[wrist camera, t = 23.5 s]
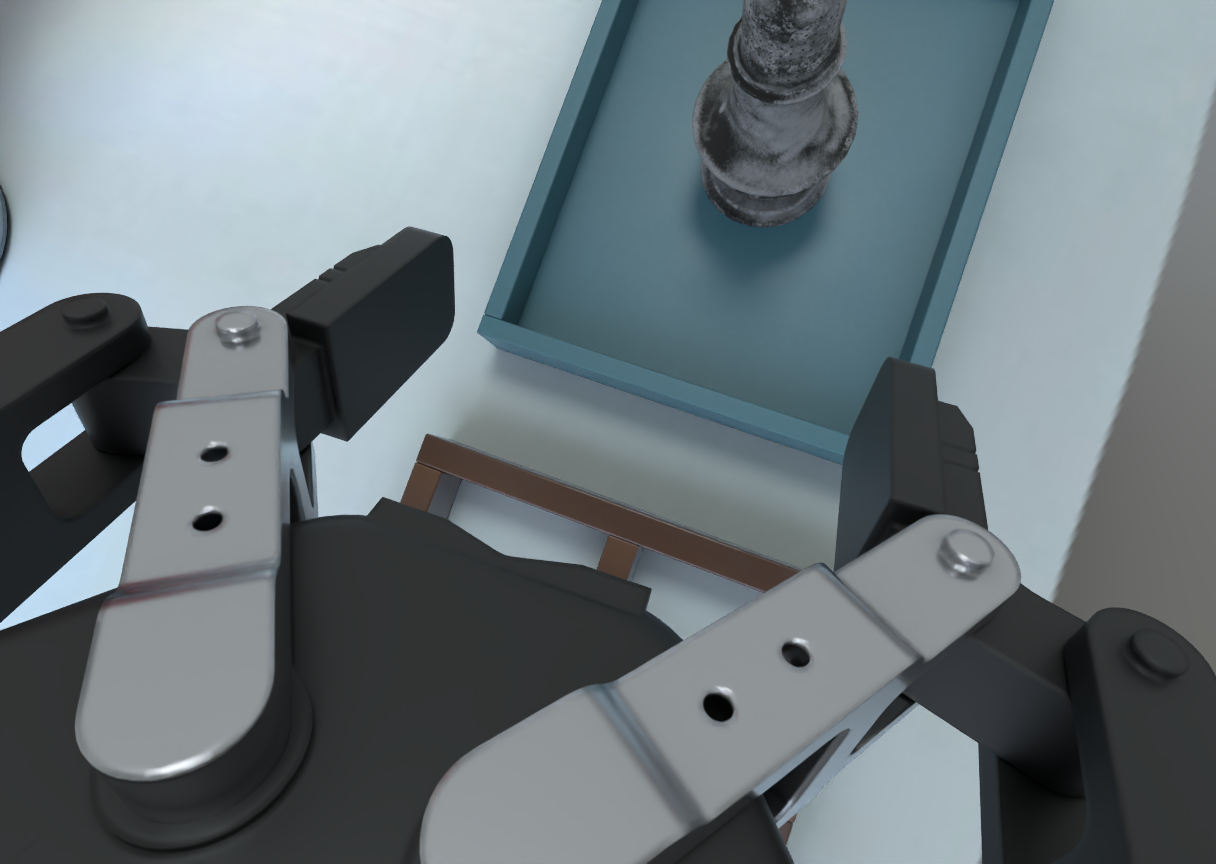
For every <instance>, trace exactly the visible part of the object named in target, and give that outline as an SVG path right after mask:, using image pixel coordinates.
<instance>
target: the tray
mask: <svg viewBox="0 0 1216 864" xmlns="http://www.w3.org/2000/svg"><path fill="white" fill-rule="evenodd" d="M1053 2H1054V0H847V4H846V7H845V11H844V15H843V18H842V24H843V26H844V28H845V33H846V40H847V46H846V53H845V59H844V61H843V63H842V66H841V68H840V69H841V70H842V71H843V72H844V73H845V74H846V75H847V77H848V79H849V81H850V83H851V85H852V87H853V89H854V92H855V94H856V100H857V106H858V113H859V115H858V122H857V130H856V135H855V137H854V140H853V142H852V144H851V147H850V149H849V151H848V153H847V155H846V157H845V158H844V159H843V160H842V162H841V163H840V164H839V165H838V167H837V168H836V169H835V170H834V172H832V173H831V176H830V180H829V182H828V184H827V187H826V189H825V191H824V194H823V195H822V197H821V198H820V199H819V200H818V202H817V203H816V204H815V205H814V207H813V208H812V209H810V210H809V211H808V212H806V213H805V214H804V215H802V216H801V217H800V218H798V219H796V220H794V221H791V222H789V223H786V224H784V225H780V226H774V227H767V228H762V227H752V226H746V225H743V224H741V223H738V222H735V221H732V220H731V219H730V218H728V217H727V216H725V215H724V214H722V213H721V212H720V211H718V209H717V208H716V207H715V206H714V204H713V203H712V202H711V201H710V200H709V198H708V196H707V193H706V191H705V189H704V186H703V183H702V175H701V162H702V159H701V157H700V155H699V152H698V150H697V148H696V146H695V143H694V136H693V128H692V118H693V112H694V105H695V101H696V99H697V97H698V94H699V92H700V90H701V88H702V86H703V83H704V82H705V81H706V80H707V78H708V77H709V76H710V75H711V74H712V72H713V71H714V70H715V69H716V67H718V66H719V65H720V64H722V63H723V62H724V61H725V60H727V59H728V58H727V49H728V43H729V37H730V35H731V33H732V30H733V28H734V26H735V24H736V23H737V21H738V20H739V19H740V18H741V16H742V13H743V0H602V2H601V5H600V8H599V10H598V13H597V16H596V18H595V21H594V24H593V26H592V29H591V32H590V34H589V37H588V39H587V42H586V45H585V47H584V50H583V53H582V55H581V58H580V61H579V63H578V66H577V69H576V71H575V74H574V77H573V79H572V82H571V85H570V87H569V90H568V92H567V95H566V98H565V100H564V103H563V106H562V108H561V111H560V114H559V116H558V119H557V122H556V124H555V127H554V130H553V132H552V135H551V137H550V140H549V143H548V145H547V148H546V151H545V153H544V156H543V159H542V161H541V164H540V167H539V169H538V172H537V175H536V177H535V180H534V183H533V185H532V188H531V190H530V193H529V196H528V198H527V201H526V204H525V206H524V209H523V212H522V214H521V217H520V220H519V222H518V225H517V228H516V230H515V233H514V236H513V238H512V241H511V243H510V246H509V249H508V251H507V254H506V257H505V259H504V262H503V265H502V267H501V270H500V273H499V275H498V278H497V281H496V283H495V286H494V289H493V291H492V294H491V296H490V299H489V302H488V304H487V307H486V310H485V315H483V317H482V320H481V323H480V325H479V328H478V331H477V333H478V334H480V335H481V336H482V337H484V338H485V339H486V340H487V341H489V342H490V343H491V344H493V345H494V346H495V347H496V348H499V349H502V350H505V351H508V352H511V353H513V354H516V355H519V356H522V357H525V358H528V359H531V360H534V361H537V362H540V363H543V364H546V365H549V366H552V367H555V368H558V369H561V370H564V371H567V372H570V373H573V374H576V375H579V376H581V377H584V378H587V379H590V380H593V381H596V382H599V383H602V384H605V385H608V386H611V387H614V388H617V389H620V390H623V391H626V392H629V393H632V394H635V395H638V396H641V397H644V398H646V399H649V400H652V401H655V402H658V403H661V404H664V405H667V406H670V407H673V408H676V409H679V410H682V411H685V412H688V413H691V414H694V415H697V416H700V417H703V418H706V419H709V420H711V421H714V422H717V423H720V424H723V425H726V426H729V427H732V428H735V429H738V430H741V431H744V432H747V433H750V434H753V435H756V436H759V437H762V438H765V439H768V440H771V441H774V442H776V443H779V444H782V445H785V446H788V447H791V448H794V449H797V450H800V451H803V452H806V453H809V454H812V455H815V456H818V457H821V458H824V459H827V460H830V461H833V462H836V463H839V464H841V465H843V458H844V453H845V449H846V445H847V442H848V439H849V436H850V433H851V431H852V428H853V426H854V424H855V422H856V419H857V417H858V415H859V413H860V411H861V409H862V407H863V405H864V402H865V400H866V398H867V396H868V394H869V392H870V390H871V387H872V385H873V383H874V381H875V379H876V377H877V375H878V373H879V370H880V368H881V366H882V365H883V363H884V361H885V360H886V359H887V358H888V357H892V358H896V359H900V360H903V361H907V362H911V363H915V364H918V365H922V366H926V367H929V368H931V367H932V364H933V361H934V358H935V355H936V352H937V349H938V346H939V343H940V340H941V337H942V334H943V331H944V328H945V325H946V322H947V319H948V316H949V313H950V310H951V307H952V304H953V301H954V298H955V295H956V292H957V289H958V286H959V283H960V280H961V277H962V274H963V271H964V268H965V265H966V263H967V260H968V257H969V254H970V251H971V248H972V245H973V242H974V239H975V236H976V233H977V230H978V227H979V224H980V221H981V218H982V215H983V212H984V209H985V206H986V203H987V200H988V197H989V194H990V191H991V188H992V185H993V182H994V179H995V176H996V173H997V170H998V167H999V164H1000V161H1001V158H1002V155H1003V152H1004V149H1005V146H1006V143H1007V140H1008V137H1009V134H1010V131H1011V128H1012V125H1013V122H1014V119H1015V116H1016V113H1017V110H1018V107H1019V104H1020V101H1021V98H1022V95H1023V92H1024V89H1025V86H1026V83H1027V80H1028V77H1029V74H1030V71H1031V68H1032V65H1033V62H1034V59H1035V56H1036V53H1037V50H1038V47H1039V44H1040V41H1041V38H1042V35H1043V32H1044V29H1045V26H1046V23H1047V20H1048V17H1049V14H1050V11H1051V8H1052V5H1053Z"/></svg>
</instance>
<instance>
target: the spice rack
mask: <svg viewBox="0 0 1216 864" xmlns="http://www.w3.org/2000/svg"><path fill="white" fill-rule="evenodd" d="M416 461H417V462H416V463H415V465H414V468H413V470H412V473H411V475H410V478H409V481H408V483H407V486H406V489H405V491H404V494H403V497H402V499H401V502H400V503H402V504H405V505H408V506H411V507H413V508H416V509H419V510H422V511H425V512H428V513H431V514H434V515H437V516H440V517H443V518H446V519H447V517H448V514H449V512H450V509H451V506H452V504H453V501H454V498H455V496H456V493H457V490H458V488H459V485H460V482H461V480H462V479H463V480H466V481H469V482H471V483H474V484H477V485H479V486H482V487H484V488H487V489H490V490H492V491H495V492H498V493H500V494H503V495H506V496H508V497H511V498H514V499H516V500H519V501H522V502H524V503H527V504H530V505H532V506H535V507H537V508H540V509H543V510H545V511H548V512H551V513H553V514H556V515H559V516H561V517H564V518H567V519H569V520H572V521H575V522H577V523H580V524H583V525H585V526H588V527H590V528H593V529H596V530H598V531H601V532H604V533H606V534H609V536H608V539H607V542H606V545H605V548H604V550H603V553H602V556H601V559H600V562H599V564H598V567H597V570H598V571H601V572H604V573H607V574H610V575H613V576H616V577H619V578H622V579H625V580H628V581H631V580H632V578H633V575H634V572H635V569H636V566H637V564H638V561H639V558H640V555H641V552H642V549H643V548H646V549H649V550H651V551H654V552H657V553H659V554H662V555H665V556H667V557H670V558H673V559H675V560H678V561H681V562H683V563H686V564H688V565H691V566H694V567H696V568H699V569H702V570H704V571H707V572H710V573H712V574H715V575H718V576H720V577H723V578H726V579H728V580H731V581H734V582H736V583H739V584H741V585H744V586H747V587H749V588H752V589H755V590H757V591H760V592H763V593H765V592H766V591H768V590H770V589H772V588H773V587H775V586H777V585H778V584H780V583H782V582H783V581H785V580H787V579H788V578H790V577H792V576H794V575H795V574H797V573H799V572H800V571H802V570H803V569H800V568H798V567H795V566H792V565H789V564H787V563H784V562H781V561H778V560H776V559H773V558H770V557H768V556H765V555H762V554H759V553H757V552H754V551H751V550H749V549H746V548H743V547H740V546H738V545H735V544H732V543H730V542H727V541H724V540H721V539H719V538H716V537H713V536H711V535H708V534H705V533H702V532H700V531H697V530H694V529H692V528H689V527H686V526H683V525H681V524H678V523H675V522H672V521H670V520H667V519H664V518H662V517H659V516H656V515H653V514H651V513H648V512H645V511H643V510H640V509H637V508H634V507H632V506H629V505H626V504H624V503H621V502H618V501H615V500H613V499H610V498H607V497H605V496H602V495H599V494H596V493H594V492H591V491H588V490H586V489H583V488H580V487H577V486H575V485H572V484H569V483H566V482H564V481H561V480H558V479H556V478H553V477H550V476H547V475H545V474H542V473H539V472H537V471H534V470H531V469H528V468H526V467H523V466H520V465H518V464H515V463H512V462H509V461H507V460H504V459H501V458H499V457H496V456H493V455H490V454H488V453H485V452H482V451H480V450H477V449H474V448H471V447H469V446H466V445H463V444H460V443H458V442H455V441H452V440H449V439H446V438H442V437H439V436H435V435H431V434H426V436H425V438H424V441H423V444H422V446H421V449H420V452H419V454H418V457H417V459H416ZM796 815H797V813H796V814H795V815H794V816H793V817H791V818H790V819H789V820H788V821H787V822H786V823H784V824H783V825H782V826H781V827H780V828H778V829H779V831H780V833H781V836H782V838H783V840H784V842H785V844H787V841H788V838H789V835H790V832H791V829H792V826H793V822H794V821H795V818H796Z"/></svg>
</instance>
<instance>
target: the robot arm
mask: <svg viewBox="0 0 1216 864" xmlns="http://www.w3.org/2000/svg"><path fill="white" fill-rule="evenodd" d="M6 234H7V213H6V206H5V201H4V198H3V195H2V192H1V189H0V260H1V256H2V253H3V250H4V246H5V241H6ZM454 316H455V295H454V260H453V246H452V243H451V240H450V239H449V238H448V237H447V236H444V235H440V234H436V233H433V232H429V231H425V230H422V229H418V228H414V227H406V228H404V229H403V230H401V231H400V232H399V233H397V234H396V235H394V236H393V237H392V238H390V239H389V240H387V241H386V242H385V243H383V244H382V245H376V246H373V247H370V248H367V249H364V250H360V251H357V252H354V253H352V254H350V255H349V256H347V257H346V258H344V259H343V260H342V261H340V262H339V263H337V264H336V265H334V268H333V269H331V268H330V269H329V270H327V271H326V272H324V273H323V274H321V275H320V276H319V279H314V280H313V281H311V282H310V283H308V284H307V285H305V286H304V287H303V288H301V289H300V290H298V291H297V292H295V293H294V294H292V295H291V296H289V297H288V298H287V299H285V300H284V301H282V302H281V303H279V304H278V305H276V306H275V307H274V308H272V309H271V310H270V309H267V308H262V307H255V306H238V307H230V308H225V309H221V310H217V311H214V312H212V313H209V314H207V315H205V316H203V317H201V318H200V319H198V320H197V321H196V322H194V323H193V324H192V326H191V327H190V328H189V330H184V329H172V328H159V327H148V326H147V323H146V321H145V318H144V315H143V312H142V310H141V307H140V305H139V304H138V302H136V301H135V300H134V299H132V298H130V297H127V296H124V295H120V294H114V293H90V294H83V295H77V296H73V297H69V298H65V299H62V300H60V301H57V302H54V303H52V304H50V305H48V306H46V307H45V308H43V309H41V310H39V311H37V312H36V313H34V314H32V315H30V316H28V317H26V318H25V319H23V320H21V321H19V322H17V323H16V324H14V325H12V326H10V327H8V328H7V329H5V330H3V331H1V332H0V623H1V622H2V621H3V620H4V619H5V618H6V617H7V616H8V615H9V614H11V613H12V612H13V611H14V610H15V609H16V608H17V607H18V606H19V605H21V604H22V603H23V602H24V601H25V600H26V599H27V598H28V597H29V596H31V595H32V594H33V593H34V592H35V591H36V590H37V589H38V588H39V587H41V586H42V585H43V584H44V583H45V582H46V581H47V580H48V579H49V578H51V577H52V576H53V575H54V574H55V573H56V572H57V571H58V570H59V569H61V568H62V567H63V566H64V565H65V564H66V563H67V562H68V561H69V560H71V559H72V558H73V557H74V556H75V555H76V554H77V553H78V552H79V551H81V550H82V549H83V548H84V547H85V546H86V545H87V544H88V543H89V542H91V541H92V540H93V539H94V538H95V537H96V536H97V535H98V534H99V533H101V532H102V531H103V530H104V529H105V528H106V527H107V526H108V525H109V524H111V523H112V522H113V521H114V520H115V519H116V518H117V517H118V516H119V515H121V514H122V513H123V512H124V511H125V510H126V509H127V508H128V507H129V506H131V505H132V504H133V503H134V502H135V501H136V504H135V509H134V514H133V519H132V524H131V529H130V534H129V539H128V544H127V549H126V554H125V559H124V564H123V569H122V574H121V579H120V583H119V586H118V588H115V589H112V590H109V591H107V592H104V593H101V594H99V595H96V596H93V597H90V598H88V599H85V600H82V601H79V602H77V603H74V604H71V605H69V606H66V607H63V608H60V609H58V610H55V611H52V612H50V613H47V614H44V615H41V616H39V617H36V618H33V619H31V620H28V621H25V622H22V623H20V624H17V625H14V626H12V627H9V628H6V629H3V630H1V631H0V864H794V862H793V860H792V858H791V855H790V853H789V851H788V849H787V847H786V844H785V842H784V840H783V838H782V836H781V833H780V831H779V829H778V828H780V827H781V826H782V825H783V824H784V823H786V822H787V821H788V820H789V819H790V818H791V817H793V816H794V815H795V814H796V813H797V812H798V811H799V810H801V809H802V808H803V807H804V806H805V805H806V804H807V803H808V802H809V801H810V800H811V799H812V798H813V797H814V796H815V795H816V794H817V793H818V792H819V791H820V790H821V789H822V788H823V787H824V786H825V785H826V784H827V783H828V782H829V781H830V780H831V779H832V778H833V777H834V776H835V775H836V774H837V773H838V772H839V771H841V770H842V769H843V768H844V767H845V766H846V765H847V764H849V763H850V762H851V761H852V760H853V759H855V758H856V757H857V756H858V755H859V754H861V753H862V752H863V751H864V750H865V749H867V748H868V747H869V746H870V745H871V744H872V743H874V742H875V741H876V740H877V739H878V738H880V737H881V736H882V735H883V734H884V733H886V732H887V731H888V730H889V729H890V728H892V727H893V726H894V725H895V724H896V723H897V722H899V721H900V720H901V719H902V718H903V717H905V716H906V715H907V714H908V713H909V712H911V711H912V710H913V709H914V708H915V707H917V706H918V705H919V704H920V705H921V706H923V707H925V708H926V709H928V710H929V711H931V712H932V713H934V714H935V715H937V716H938V717H940V718H941V719H943V720H944V721H946V722H947V723H949V724H950V725H952V726H953V727H955V728H956V729H958V730H959V731H961V732H962V733H964V734H966V735H967V736H969V737H970V738H972V739H973V740H975V741H976V742H978V747H979V777H980V806H981V835H982V864H1216V676H1215V674H1214V672H1213V670H1212V668H1211V667H1210V665H1209V664H1208V662H1207V661H1206V660H1205V659H1204V657H1203V656H1202V655H1201V653H1200V652H1199V651H1197V649H1196V648H1195V647H1194V646H1193V645H1192V644H1191V643H1189V642H1188V641H1187V640H1186V639H1185V638H1184V637H1183V636H1181V635H1180V634H1179V633H1177V632H1176V631H1175V630H1173V629H1172V628H1170V627H1168V626H1167V625H1165V624H1164V623H1162V622H1160V621H1158V620H1157V619H1155V618H1153V617H1150V616H1148V615H1146V614H1143V613H1140V612H1137V611H1134V610H1131V609H1125V608H1106V609H1102V610H1100V611H1098V612H1096V613H1095V614H1094V615H1093V616H1092V617H1091V618H1090V619H1089V620H1088V621H1087V622H1085V621H1083V620H1082V619H1080V618H1078V617H1076V616H1074V615H1072V614H1071V613H1069V612H1067V611H1065V610H1063V609H1062V608H1060V607H1058V606H1056V605H1054V604H1053V603H1051V602H1049V601H1047V600H1045V599H1044V598H1042V597H1040V596H1039V595H1037V594H1035V593H1034V592H1032V591H1031V590H1029V589H1028V588H1026V587H1025V586H1024V585H1022V584H1021V583H1020V582H1021V572H1020V568H1019V565H1018V562H1017V561H1016V559H1015V557H1014V555H1013V554H1012V553H1011V551H1010V550H1009V549H1008V547H1007V546H1006V545H1005V544H1004V543H1003V542H1002V541H1001V540H1000V539H998V538H997V537H996V536H995V535H994V534H992V533H991V532H989V531H988V525H987V519H986V512H985V505H984V498H983V492H982V485H981V478H980V473H979V472H978V469H979V465H978V458H977V455H976V454H975V452H976V445H975V438H974V431H973V428H972V426H971V425H970V424H969V422H968V421H967V419H966V418H965V416H964V415H963V414H962V412H961V411H960V409H959V408H958V407H957V406H955V405H951V404H948V403H944V402H940V401H938V397H937V386H936V374H935V370H934V369H933V368H929V367H926V366H922V365H918V364H915V363H911V362H907V361H903V360H900V359H896V358H892V357H888V358H887V359H886V360H885V361H884V363H883V365H882V366H881V368H880V370H879V373H878V375H877V377H876V379H875V381H874V383H873V385H872V387H871V390H870V392H869V394H868V396H867V398H866V400H865V402H864V405H863V407H862V409H861V411H860V413H859V415H858V417H857V419H856V422H855V424H854V426H853V428H852V431H851V433H850V436H849V439H848V442H847V445H846V449H845V453H844V458H843V468H842V480H841V492H840V504H839V516H838V528H837V540H836V552H835V564H834V572H833V571H832V570H831V569H829V568H828V567H827V566H826V565H825V564H824V563H817V564H814V565H811V566H809V567H807V568H805V569H804V570H802V571H800V572H799V573H797V574H795V575H794V576H792V577H790V578H788V579H787V580H785V581H783V582H782V583H780V584H778V585H777V586H775V587H773V588H772V589H770V590H768V591H766V592H765V593H763V594H761V595H760V596H758V597H756V598H755V599H753V600H751V601H750V602H748V603H746V604H745V605H743V606H741V607H739V608H738V609H736V610H734V611H733V612H731V613H729V614H728V615H726V616H724V617H723V618H721V619H719V620H717V621H716V622H714V623H712V624H711V625H709V626H707V627H706V628H704V629H702V630H701V631H699V632H697V633H696V634H694V635H692V636H690V637H689V638H687V639H685V640H684V641H683V640H682V639H681V638H680V637H679V636H678V635H677V634H676V633H675V632H674V631H673V630H672V629H671V628H670V627H668V626H667V625H666V624H665V623H663V622H662V621H661V620H660V619H658V618H657V617H655V616H654V615H652V614H651V613H649V612H648V611H646V608H647V604H648V601H649V597H650V593H651V590H652V589H651V588H648V587H645V586H642V585H639V584H636V583H633V582H631V581H628V580H625V579H622V578H619V577H616V576H613V575H610V574H607V573H604V572H601V571H598V570H595V569H592V568H589V567H587V566H584V565H578V564H569V563H561V562H552V561H544V560H535V559H527V558H519V557H511V556H506V555H504V554H501V553H499V552H498V551H496V550H494V549H493V548H491V547H490V546H488V545H487V544H485V543H483V542H482V541H480V540H479V539H477V538H475V537H474V536H472V535H471V534H469V533H468V532H466V531H464V530H463V529H461V528H460V527H458V526H457V525H455V524H453V523H452V522H450V521H449V520H447V519H446V518H443V517H440V516H437V515H434V514H431V513H428V512H425V511H422V510H419V509H416V508H413V507H411V506H408V505H405V504H402V503H399V502H396V501H393V500H390V499H387V498H384V497H382V498H381V499H380V501H379V502H378V503H377V504H376V505H375V507H374V508H373V509H372V510H371V512H370V513H369V514H368V515H367V516H364V515H335V516H325V517H319V518H318V501H317V482H316V463H315V451H314V447H313V442H312V441H313V440H314V439H315V438H316V437H317V436H318V435H319V434H320V433H322V434H325V435H329V436H332V437H335V438H338V439H341V440H344V441H347V442H348V441H349V440H350V439H351V438H352V437H353V436H354V435H355V434H356V432H357V431H358V430H359V429H360V428H361V427H362V426H363V425H364V424H365V423H366V422H367V421H368V420H369V419H370V418H371V417H372V416H373V415H374V414H375V413H376V412H377V411H378V410H379V409H380V408H381V407H382V406H383V405H384V404H385V403H386V402H387V400H388V399H389V398H390V397H391V396H392V395H393V394H394V393H395V392H396V391H397V390H398V389H399V388H400V387H401V386H402V385H403V384H404V383H405V382H406V381H407V380H408V379H409V378H410V377H411V376H412V375H413V374H414V373H415V372H416V371H417V370H418V368H419V367H420V366H421V365H422V364H423V363H424V362H425V361H426V360H427V359H428V358H429V357H430V356H431V355H432V354H433V353H434V352H435V351H436V350H437V349H438V348H439V347H440V346H441V345H442V344H443V343H444V341H445V340H446V339H447V337H448V335H449V333H450V331H451V329H452V326H453V322H454ZM70 403H72V404H73V406H74V408H75V410H76V412H77V414H78V416H79V418H80V420H81V422H82V424H83V426H84V428H85V431H83V432H82V433H81V434H79V435H78V436H77V437H75V438H74V439H73V440H71V441H70V442H69V443H67V444H66V445H65V446H63V447H62V448H61V449H59V450H58V451H57V452H55V453H54V454H52V455H51V456H50V457H48V458H47V459H46V460H44V461H43V462H42V463H40V464H39V465H38V466H36V467H35V468H34V469H32V470H31V471H30V472H28V470H27V468H26V467H25V465H24V463H23V461H22V457H21V451H22V446H23V443H24V441H25V439H26V438H27V436H28V435H29V433H30V432H31V431H32V430H34V429H35V428H36V427H37V426H39V425H40V424H42V423H43V422H45V421H46V420H47V419H49V418H50V417H52V416H53V415H55V414H56V413H57V412H59V411H60V410H62V409H63V408H65V407H66V406H68V405H69V404H70Z"/></svg>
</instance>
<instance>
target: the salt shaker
mask: <svg viewBox="0 0 1216 864" xmlns="http://www.w3.org/2000/svg"><path fill="white" fill-rule="evenodd" d="M846 4H847V0H743V13H742V16H741V18H740V19H739V20H738V21H737V23H736V24H735V26H734V28H733V30H732V33H731V35H730V37H729V43H728V49H727V58H728V59H727V60H725V61H724V62H723V63H722V64H720V65H719V66H718V67H716V69H715V70H714V71H713V72H712V74H711V75H710V76H709V77H708V78H707V80H706V81H705V82H704V83H703V86H702V88H701V90H700V92H699V94H698V97H697V99H696V101H695V105H694V112H693V118H692V128H693V136H694V143H695V146H696V148H697V150H698V152H699V155H700V157H701V159H702V162H701V175H702V183H703V186H704V189H705V191H706V193H707V196H708V198H709V200H710V201H711V202H712V203H713V204H714V206H715V207H716V208H717V209H718V211H720V212H721V213H722V214H724V215H725V216H727V217H728V218H730V219H731V220H732V221H735V222H738V223H741V224H743V225H746V226H752V227H762V228H767V227H774V226H780V225H784V224H786V223H789V222H791V221H794V220H796V219H798V218H800V217H801V216H802V215H804V214H805V213H806V212H808V211H809V210H810V209H812V208H813V207H814V205H815V204H816V203H817V202H818V200H819V199H820V198H821V197H822V195H823V194H824V191H825V189H826V187H827V184H828V182H829V180H830V176H831V173H832V172H834V170H835V169H836V168H837V167H838V165H839V164H840V163H841V162H842V160H843V159H844V158H845V157H846V155H847V153H848V151H849V149H850V147H851V144H852V142H853V140H854V137H855V135H856V130H857V122H858V115H859V113H858V106H857V100H856V94H855V92H854V89H853V87H852V85H851V83H850V81H849V79H848V77H847V75H846V74H845V73H844V72H843V71H842V70H841V69H840V68H841V66H842V63H843V61H844V59H845V53H846V46H847V40H846V33H845V28H844V26H843V24H842V18H843V15H844V11H845V7H846Z"/></svg>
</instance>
